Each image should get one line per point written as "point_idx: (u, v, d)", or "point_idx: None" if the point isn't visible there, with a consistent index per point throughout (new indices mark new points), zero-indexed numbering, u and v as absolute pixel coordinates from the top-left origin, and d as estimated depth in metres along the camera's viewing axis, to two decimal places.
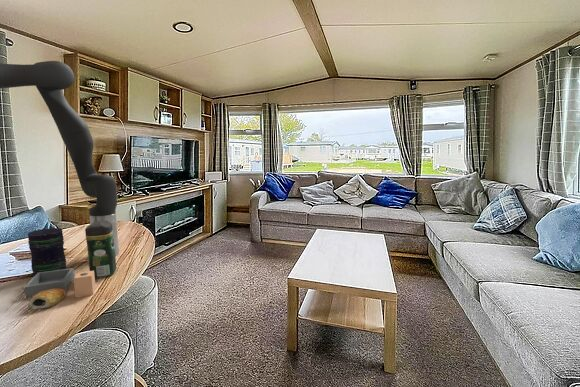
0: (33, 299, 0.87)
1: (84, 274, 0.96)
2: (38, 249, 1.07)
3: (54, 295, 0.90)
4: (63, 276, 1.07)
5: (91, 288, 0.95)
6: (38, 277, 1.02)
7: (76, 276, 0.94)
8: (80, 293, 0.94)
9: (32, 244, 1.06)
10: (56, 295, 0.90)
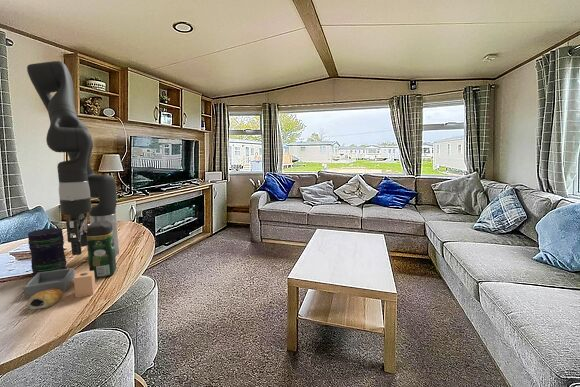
0: (31, 299, 0.87)
1: (84, 274, 0.96)
2: (38, 249, 1.07)
3: (52, 295, 0.90)
4: (63, 276, 1.07)
5: (91, 288, 0.95)
6: (38, 277, 1.02)
7: (76, 276, 0.94)
8: (80, 293, 0.94)
9: (32, 244, 1.06)
10: (54, 295, 0.90)
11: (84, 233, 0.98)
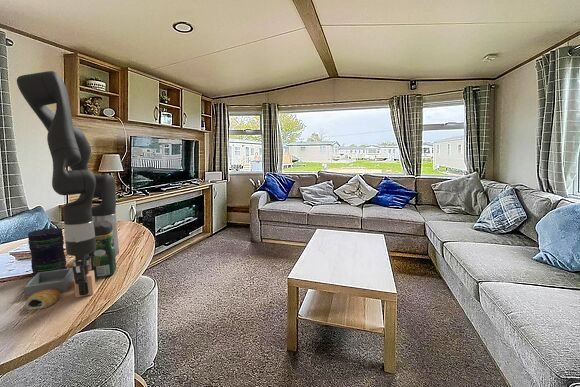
0: (29, 300, 0.87)
1: None
2: (38, 249, 1.07)
3: (50, 295, 0.89)
4: (63, 276, 1.07)
5: (91, 288, 0.95)
6: (38, 277, 1.02)
7: None
8: None
9: (32, 244, 1.06)
10: (52, 295, 0.90)
11: None
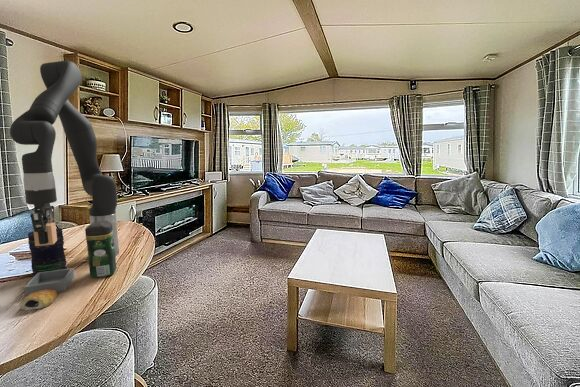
0: (25, 300, 0.86)
1: None
2: (38, 249, 1.07)
3: (47, 296, 0.89)
4: (63, 276, 1.07)
5: (51, 238, 0.98)
6: (38, 277, 1.02)
7: None
8: None
9: (32, 244, 1.06)
10: (48, 296, 0.90)
11: None
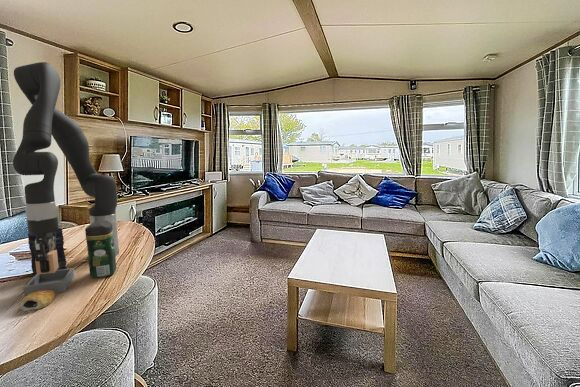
0: (24, 301, 0.86)
1: None
2: None
3: (45, 296, 0.89)
4: (63, 276, 1.07)
5: (52, 266, 0.99)
6: (38, 277, 1.02)
7: None
8: None
9: (32, 244, 1.06)
10: (47, 296, 0.90)
11: None
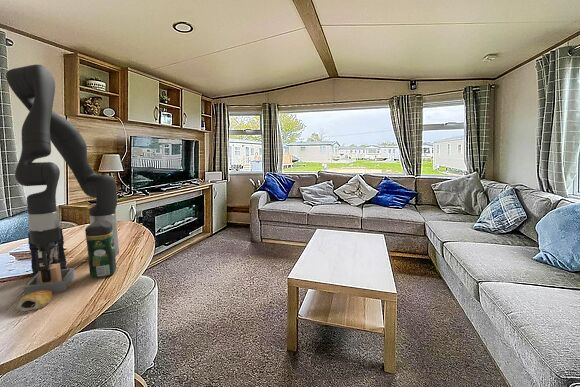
0: (22, 301, 0.86)
1: None
2: None
3: (43, 296, 0.89)
4: (63, 276, 1.07)
5: (56, 280, 1.00)
6: (38, 277, 1.02)
7: None
8: None
9: (32, 244, 1.06)
10: (45, 296, 0.89)
11: (54, 260, 1.04)
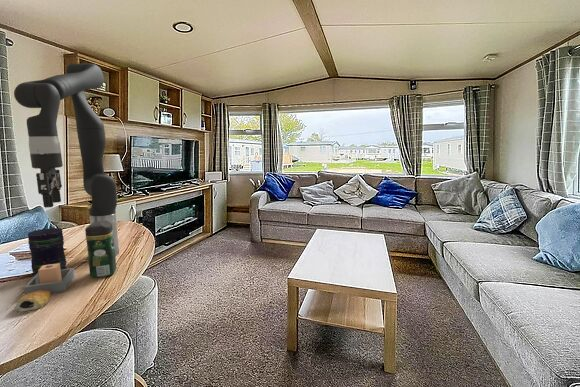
0: (20, 301, 0.86)
1: (49, 266, 1.00)
2: (38, 249, 1.07)
3: (42, 296, 0.89)
4: (63, 276, 1.07)
5: (56, 280, 1.00)
6: (38, 277, 1.02)
7: (41, 268, 0.99)
8: None
9: (32, 244, 1.06)
10: (43, 296, 0.89)
11: (57, 189, 1.01)
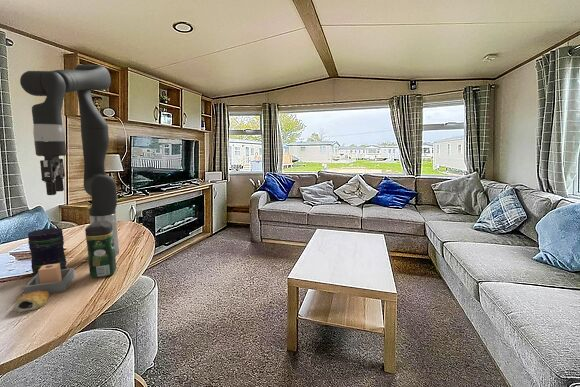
0: (19, 302, 0.85)
1: (49, 266, 1.00)
2: (38, 249, 1.07)
3: (40, 297, 0.89)
4: (63, 276, 1.07)
5: (56, 280, 1.00)
6: (38, 277, 1.02)
7: (41, 268, 0.99)
8: None
9: (32, 244, 1.06)
10: (42, 297, 0.89)
11: (60, 178, 1.01)
